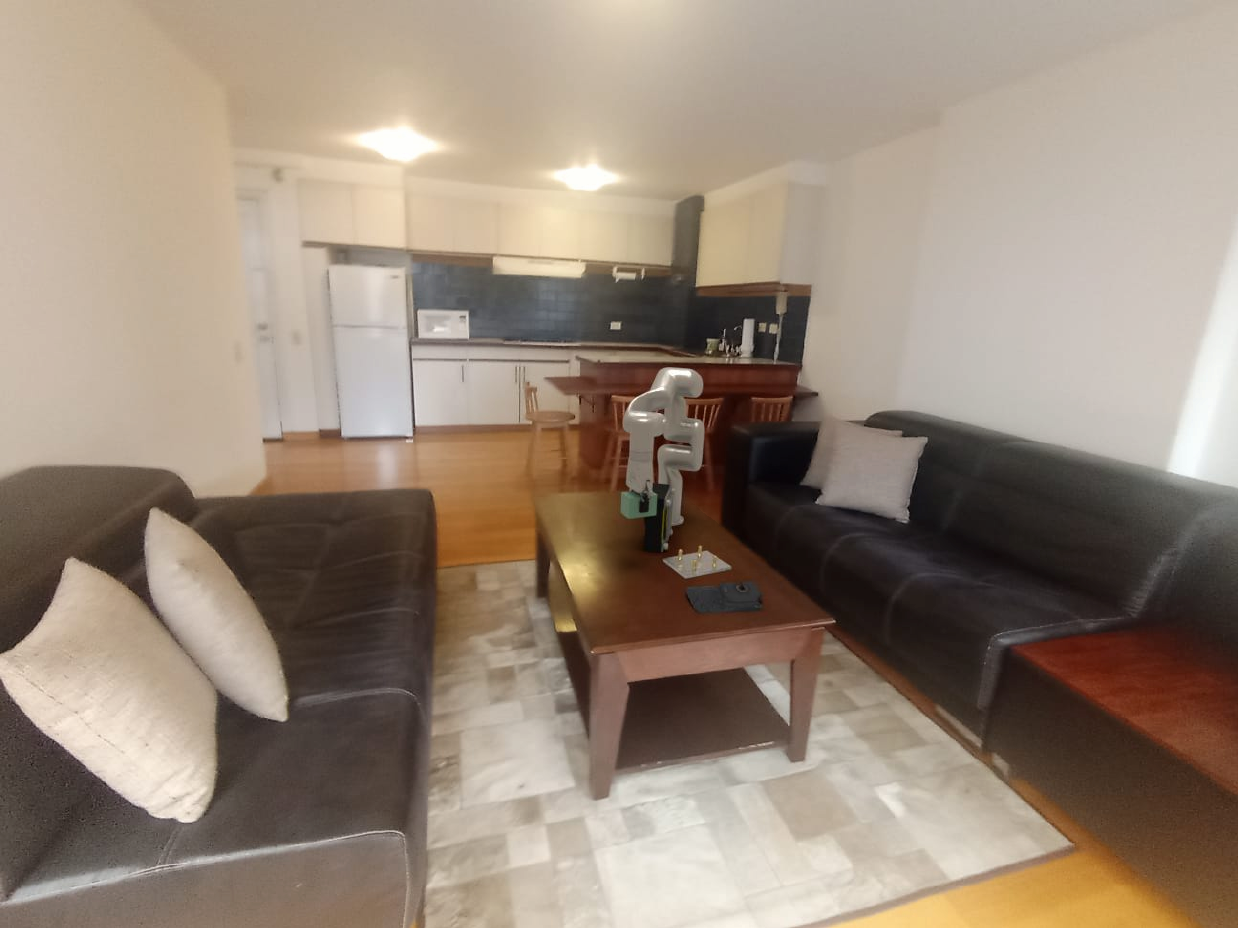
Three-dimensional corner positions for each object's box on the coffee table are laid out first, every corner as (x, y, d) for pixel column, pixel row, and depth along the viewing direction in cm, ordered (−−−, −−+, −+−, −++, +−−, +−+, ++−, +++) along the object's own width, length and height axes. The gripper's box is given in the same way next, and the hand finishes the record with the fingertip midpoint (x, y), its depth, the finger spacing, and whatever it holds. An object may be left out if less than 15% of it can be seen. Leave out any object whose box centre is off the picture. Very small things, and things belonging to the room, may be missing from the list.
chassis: (663, 561, 196) (663, 549, 195) (706, 553, 204) (707, 541, 203) (685, 578, 184) (686, 565, 183) (731, 569, 192) (732, 556, 191)
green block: (620, 512, 189) (621, 490, 187) (647, 508, 193) (648, 487, 191) (628, 518, 184) (629, 496, 181) (656, 515, 188) (657, 493, 185)
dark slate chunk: (681, 590, 177) (682, 576, 176) (748, 587, 181) (750, 573, 180) (695, 616, 163) (696, 601, 161) (769, 612, 166) (770, 597, 165)
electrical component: (667, 553, 202) (670, 499, 197) (638, 550, 204) (641, 496, 199) (672, 535, 219) (676, 485, 214) (646, 532, 221) (648, 482, 216)
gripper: (618, 449, 188) (616, 501, 193) (644, 463, 174) (641, 519, 179) (638, 447, 192) (636, 499, 197) (665, 461, 177) (662, 516, 182)
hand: (638, 508), depth 188 cm, fingers closed on green block, 6 cm apart
